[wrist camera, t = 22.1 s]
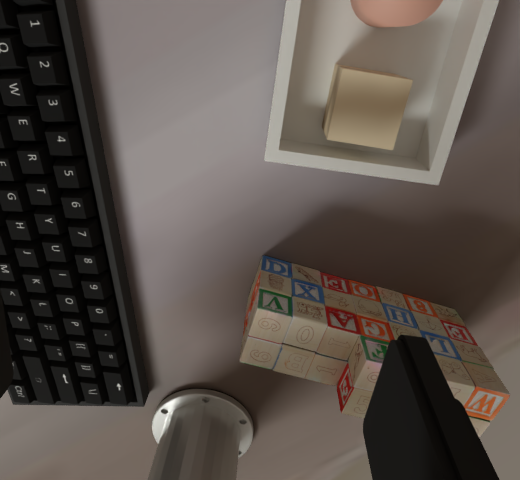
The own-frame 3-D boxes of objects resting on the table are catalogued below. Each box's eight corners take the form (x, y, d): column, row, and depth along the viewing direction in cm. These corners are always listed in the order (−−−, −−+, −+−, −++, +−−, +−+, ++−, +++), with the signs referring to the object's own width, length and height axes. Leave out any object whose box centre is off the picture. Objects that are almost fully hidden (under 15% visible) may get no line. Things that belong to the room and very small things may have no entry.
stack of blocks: (245, 302, 46) (233, 387, 35) (262, 252, 43) (255, 328, 32) (430, 352, 48) (474, 449, 37) (457, 308, 45) (514, 397, 34)
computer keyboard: (-124, -38, 34) (-170, -46, 31) (70, -46, 33) (45, -56, 30) (25, 387, 54) (7, 412, 50) (150, 389, 53) (141, 414, 49)
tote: (420, 167, 39) (438, 185, 34) (266, 145, 39) (264, 160, 34) (493, -74, 31) (529, -93, 26) (300, -103, 31) (303, -127, 26)
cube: (379, 135, 37) (392, 150, 32) (321, 126, 37) (327, 139, 32) (396, 74, 35) (413, 80, 30) (334, 63, 34) (342, 68, 30)
